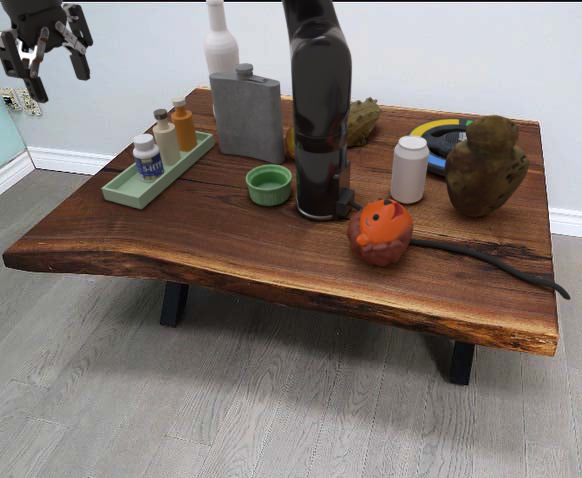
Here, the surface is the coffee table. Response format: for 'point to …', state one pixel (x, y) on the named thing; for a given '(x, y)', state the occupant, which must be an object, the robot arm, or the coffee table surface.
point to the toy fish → (380, 232)
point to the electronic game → (441, 139)
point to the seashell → (362, 121)
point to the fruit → (290, 142)
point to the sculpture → (485, 166)
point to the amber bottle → (183, 125)
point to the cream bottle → (166, 138)
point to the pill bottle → (147, 158)
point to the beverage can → (409, 169)
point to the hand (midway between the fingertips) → (64, 90)
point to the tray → (140, 193)
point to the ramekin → (269, 184)
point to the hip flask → (248, 114)
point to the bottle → (220, 42)
